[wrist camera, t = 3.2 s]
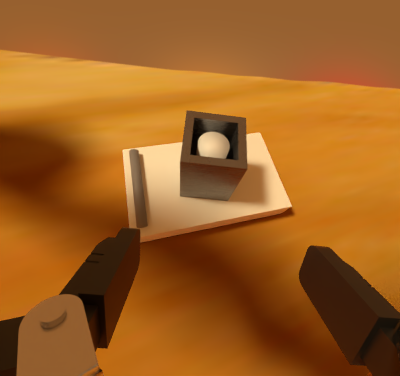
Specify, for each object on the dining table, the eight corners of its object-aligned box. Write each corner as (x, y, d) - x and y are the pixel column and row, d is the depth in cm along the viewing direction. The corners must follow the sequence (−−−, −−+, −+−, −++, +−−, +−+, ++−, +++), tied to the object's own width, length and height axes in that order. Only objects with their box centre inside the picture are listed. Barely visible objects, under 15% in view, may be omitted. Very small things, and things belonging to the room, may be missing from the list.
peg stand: (135, 243, 25) (110, 222, 15) (127, 161, 29) (104, 109, 20) (281, 213, 28) (329, 182, 19) (253, 144, 33) (281, 93, 24)
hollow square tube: (227, 201, 25) (247, 169, 18) (179, 196, 24) (179, 161, 17) (228, 160, 27) (245, 117, 20) (184, 155, 27) (186, 110, 20)
